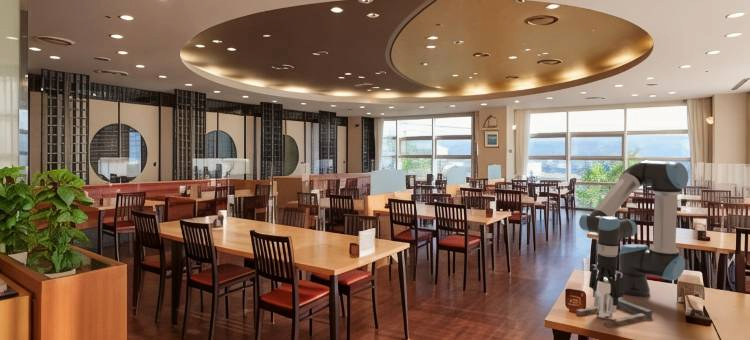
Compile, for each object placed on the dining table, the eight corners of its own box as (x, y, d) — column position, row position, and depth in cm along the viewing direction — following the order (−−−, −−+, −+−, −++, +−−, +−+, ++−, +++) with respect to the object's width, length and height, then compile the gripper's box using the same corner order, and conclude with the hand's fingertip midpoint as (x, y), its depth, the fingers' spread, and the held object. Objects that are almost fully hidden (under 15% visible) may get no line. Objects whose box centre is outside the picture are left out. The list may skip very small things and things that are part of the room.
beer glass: (616, 320, 176) (618, 284, 175) (597, 318, 178) (599, 282, 177) (610, 313, 183) (612, 278, 182) (593, 312, 185) (594, 277, 184)
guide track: (618, 305, 195) (619, 298, 195) (651, 317, 182) (652, 310, 181) (576, 313, 184) (576, 307, 184) (608, 328, 171) (608, 320, 170)
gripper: (580, 249, 186) (578, 302, 188) (623, 261, 168) (620, 319, 170) (593, 248, 189) (590, 299, 191) (636, 259, 171) (633, 316, 173)
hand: (604, 308), depth 180 cm, fingers closed on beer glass, 7 cm apart
